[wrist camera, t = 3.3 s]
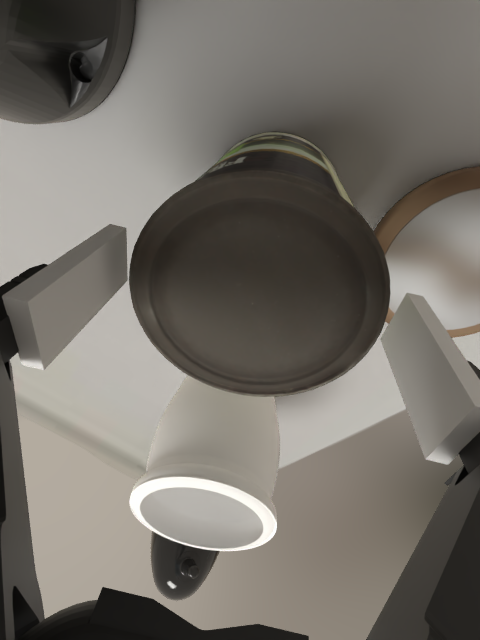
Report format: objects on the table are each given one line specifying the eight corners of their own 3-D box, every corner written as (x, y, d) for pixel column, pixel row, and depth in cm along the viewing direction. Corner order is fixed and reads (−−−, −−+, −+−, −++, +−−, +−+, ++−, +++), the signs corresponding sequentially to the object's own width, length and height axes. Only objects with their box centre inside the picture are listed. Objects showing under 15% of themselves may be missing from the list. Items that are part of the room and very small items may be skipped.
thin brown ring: (386, 163, 21) (393, 167, 20) (601, 169, 20) (624, 174, 19) (347, 321, 29) (350, 332, 27) (502, 334, 27) (514, 346, 26)
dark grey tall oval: (255, 458, 43) (240, 604, 30) (221, 489, 49) (197, 622, 36) (186, 428, 41) (140, 569, 29) (160, 463, 47) (112, 594, 35)
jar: (227, 312, 30) (183, 458, 18) (303, 372, 33) (310, 532, 21) (167, 368, 35) (101, 510, 23) (237, 415, 38) (212, 563, 26)
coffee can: (179, 214, 25) (86, 310, 14) (268, 93, 20) (237, 85, 9) (273, 294, 28) (261, 427, 17) (372, 205, 23) (452, 311, 12)
